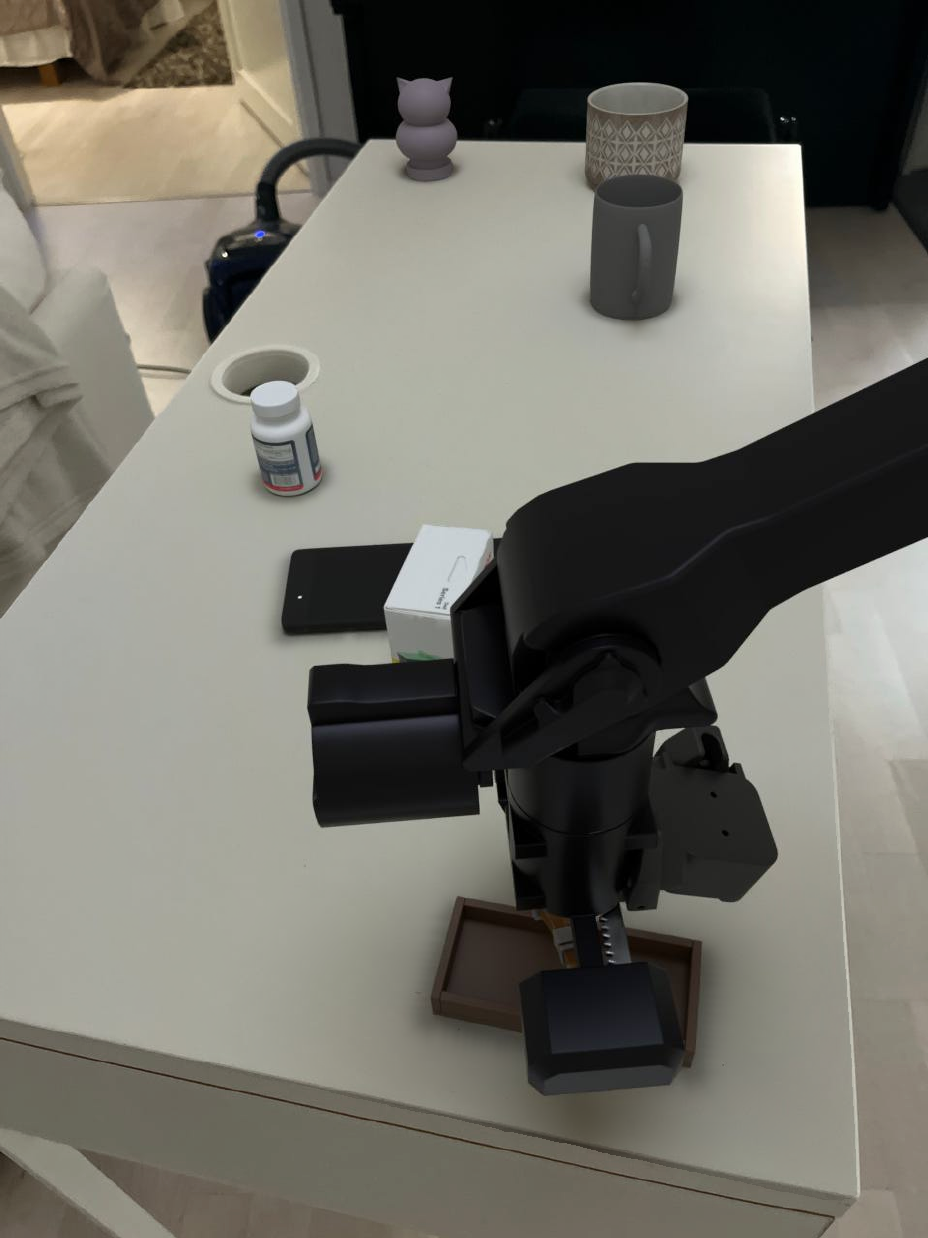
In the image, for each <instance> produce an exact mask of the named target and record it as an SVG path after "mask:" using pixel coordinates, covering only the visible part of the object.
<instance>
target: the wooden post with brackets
mask: <svg viewBox="0 0 928 1238" xmlns="http://www.w3.org/2000/svg"><path fill="white" fill-rule="evenodd" d="M532 915H533V917H534V918H535V920H540V919H543V920H544V921H545V923H546V924H547V926H548V927H549V929H550V931H551V932H552V934H553V936H554V945H555V946H556V947H557V950H558V952H559V956H560V959H561V963H562V964H563V965H566V967H567V969H568V968H577V964H576V957H575V951H574V945H573V938H572V932H571V926H567V924H566V921H565V918H563V917H559V916H555V915H552V914H550V913H548V912H547V911H546V910H545V909H538V910H532Z"/></svg>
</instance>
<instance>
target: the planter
mask: <svg viewBox="0 0 928 1238" xmlns="http://www.w3.org/2000/svg"><path fill="white" fill-rule="evenodd" d="M586 103H587V105H586V106H587V107H586V132H585V133H586V134H585V156H584V157H585V158H584V159H585V161H584V175H585V178H586V179H587V180H588V181H589V182H590V183H591V184H593V185H595V186H596V187H597V186H598V185H599V184H600V183H602V182H603V181H605V180H608V179H610V178H613V177H617V176H623V175H632V174H647V175H656V176H661V177H665V178H668V179H671V180H673V181H675V182H677V180H678V179H679V177H680V174H681V173H682V172H681V171H682V161H683V151H684V143H685V132H686V123H687V112H688V105H689V104H688V103H689V96H688V93H686V92H685V91H684V90H682V89H680V88H678V87H675V86H672V85H668V84H663V83H658V82H657V83H656V82H623V83H615V84H611V85H607V86H603V87H600V88H598V89H596V90H593V91H592V92H591V93H590V94H589V95H588V96H587V102H586Z"/></svg>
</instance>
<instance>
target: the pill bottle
mask: <svg viewBox="0 0 928 1238" xmlns="http://www.w3.org/2000/svg"><path fill="white" fill-rule="evenodd" d="M249 398H250V403H251V408H252V411H253V415H252V417H251V418H250V422H249V430H250V435H251V439H252V443H253V447H254V450H255V455H256V458H257V463H258V467H259V471H260V474H261V479H262V482H263V483H262V484H263V485H264V487H265V488H266V489H267V491H269V492H270V493H272V494H275V495H278V496H283V497H290V496H298V495H302V494H305V493H307V492H309V491H311V490H312V489H314V488H315V487H316V486H318V485H319V483H320V482H321V480H322V477H323V470H322V469H323V468H322V464H321V459H320V454H319V447H318V443H317V438H316V433H315V429H314V423H313V418H312V416H311V415H312V414H311V413H310V411H309V410H308V408H306V407H305V406H303V405H302V403H301V398H300V393H299V390H298V387H297V386H296V385H295V384H294V383H293V382H290V381H286V380H272V381H268V382H264V383H262V384H260V385H258V386H256V387H255V388H254V389H253V390H252V391H251V393H250V396H249Z"/></svg>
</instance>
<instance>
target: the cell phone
mask: <svg viewBox="0 0 928 1238" xmlns="http://www.w3.org/2000/svg"><path fill="white" fill-rule="evenodd" d="M501 539H502V537H493V553H494V557H495V556H496V555H497V550H498V548H499V545H500V542H501ZM413 544H414V542H403V543H401V542H399V543H384V544H382V543H381V544H365V545H347V546H344V545H343V546H330V547H329V546H328V547H327V546H326V547H310V548H299V549H298V548H297V549H295V550H293V551H292V553H291V555H290V559H289V566H288V573H287V579H286V585H285V592H284V598H283V603H282V605H283V606H282V610H281V611H282V612H281V619H280V621H281V622H280V623H281V626H282V630H283V632H284V633H286V634H294V633H304V632H307V633H308V632H324V631H325V632H326V631H342V630H360V629H379V628H380V629H381V628H387V625H386V619H385V612H384V605H385V603H386V601H387V599H388V596H389V594H390V592H391V590H392V588H393V586H394V584H395V582H396V579H397V577H398V575H399V573H400V571H401V569H402V567H403V565H404V562H405V560H406V558H407V556H408V554H409V552H410V550H411V548H412V546H413Z"/></svg>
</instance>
